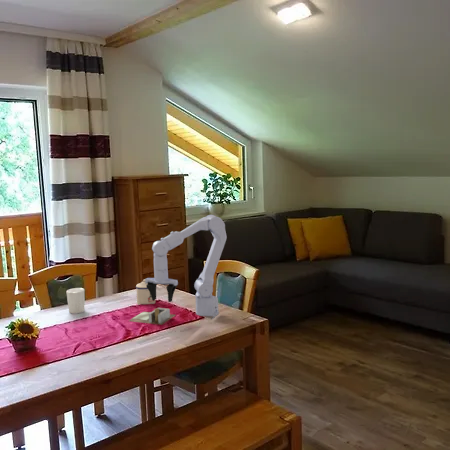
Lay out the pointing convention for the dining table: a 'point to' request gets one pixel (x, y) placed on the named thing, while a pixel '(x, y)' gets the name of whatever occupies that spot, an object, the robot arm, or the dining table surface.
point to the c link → (160, 315)
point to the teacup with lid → (143, 294)
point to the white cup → (76, 300)
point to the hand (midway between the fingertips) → (162, 300)
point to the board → (144, 317)
